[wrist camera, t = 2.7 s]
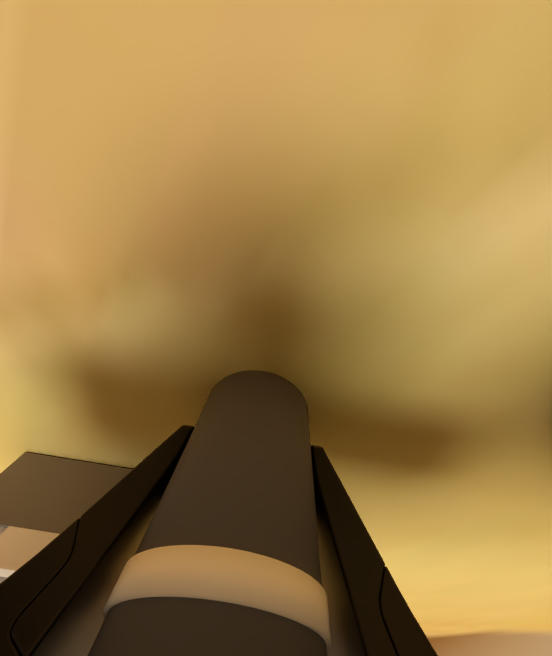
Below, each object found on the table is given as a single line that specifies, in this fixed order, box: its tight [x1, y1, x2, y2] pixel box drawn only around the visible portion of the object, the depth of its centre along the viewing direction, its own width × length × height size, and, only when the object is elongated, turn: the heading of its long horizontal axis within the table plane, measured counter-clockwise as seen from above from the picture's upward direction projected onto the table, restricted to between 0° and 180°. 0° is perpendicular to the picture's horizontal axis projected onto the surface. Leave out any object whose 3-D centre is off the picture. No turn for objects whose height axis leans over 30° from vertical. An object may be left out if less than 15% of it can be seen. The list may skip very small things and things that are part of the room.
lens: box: [88, 371, 332, 656], centre depth 7 cm, size 5×5×7 cm
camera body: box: [0, 452, 133, 583], centre depth 12 cm, size 11×8×5 cm
